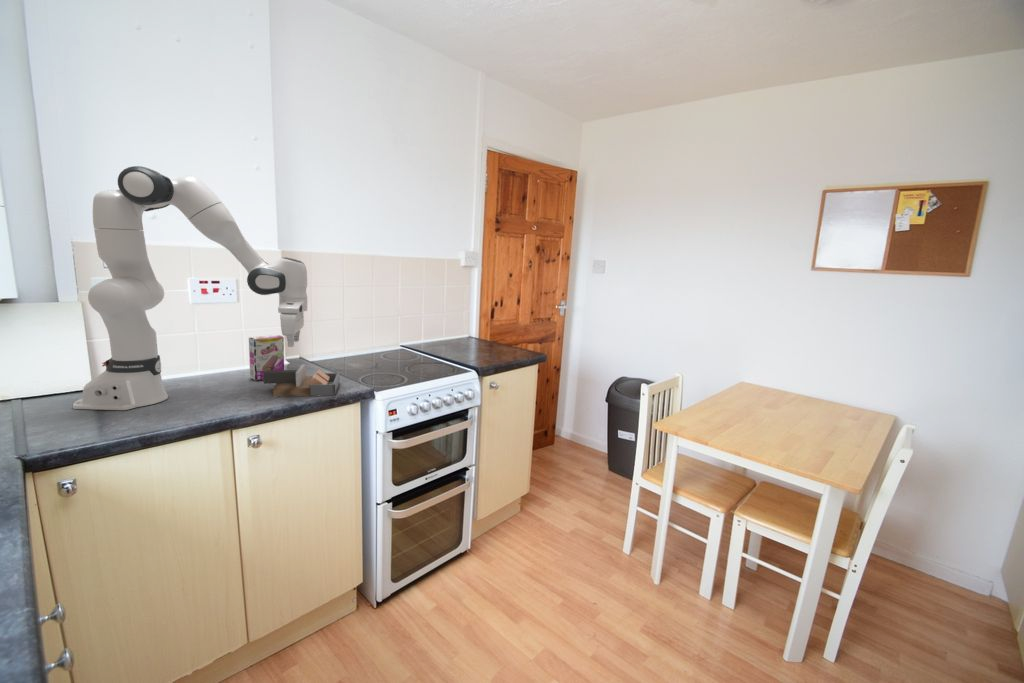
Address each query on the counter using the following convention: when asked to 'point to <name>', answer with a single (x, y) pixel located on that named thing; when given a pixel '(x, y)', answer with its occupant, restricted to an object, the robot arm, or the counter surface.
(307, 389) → the board
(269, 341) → the candy bar box
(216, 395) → the counter surface
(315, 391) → the tray
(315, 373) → the tile
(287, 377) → the scraper
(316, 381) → the tile
